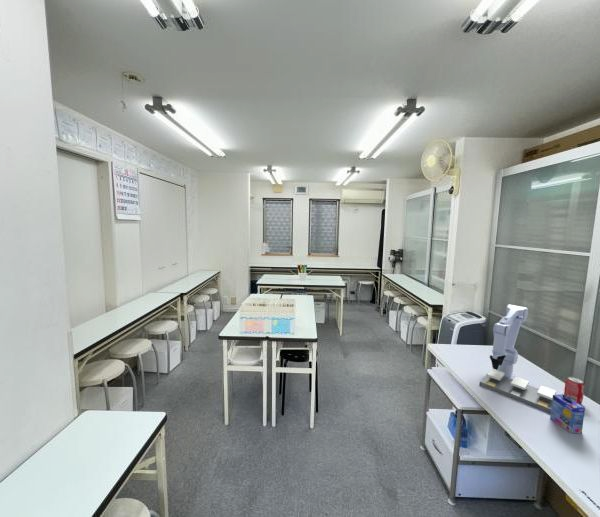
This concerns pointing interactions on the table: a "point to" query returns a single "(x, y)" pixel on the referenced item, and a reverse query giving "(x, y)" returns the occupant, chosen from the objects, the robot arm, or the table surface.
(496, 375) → the switch
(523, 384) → the switch
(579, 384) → the soda can
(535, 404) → the switch panel
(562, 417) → the ink cartridge box
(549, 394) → the switch
